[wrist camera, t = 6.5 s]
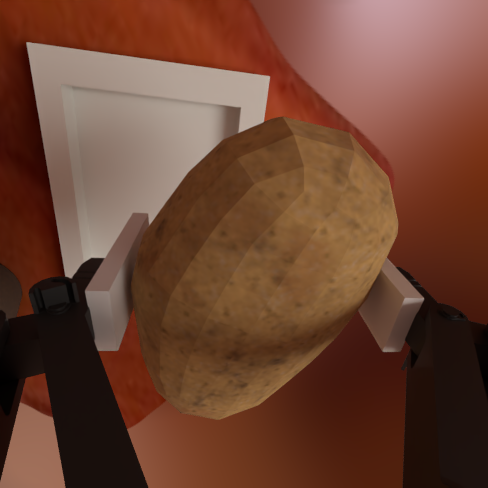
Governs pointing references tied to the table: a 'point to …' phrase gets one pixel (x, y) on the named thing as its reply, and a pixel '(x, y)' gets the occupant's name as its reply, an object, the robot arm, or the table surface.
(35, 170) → the table surface
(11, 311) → the plant pot
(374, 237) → the potato
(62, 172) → the white rimmed tray
